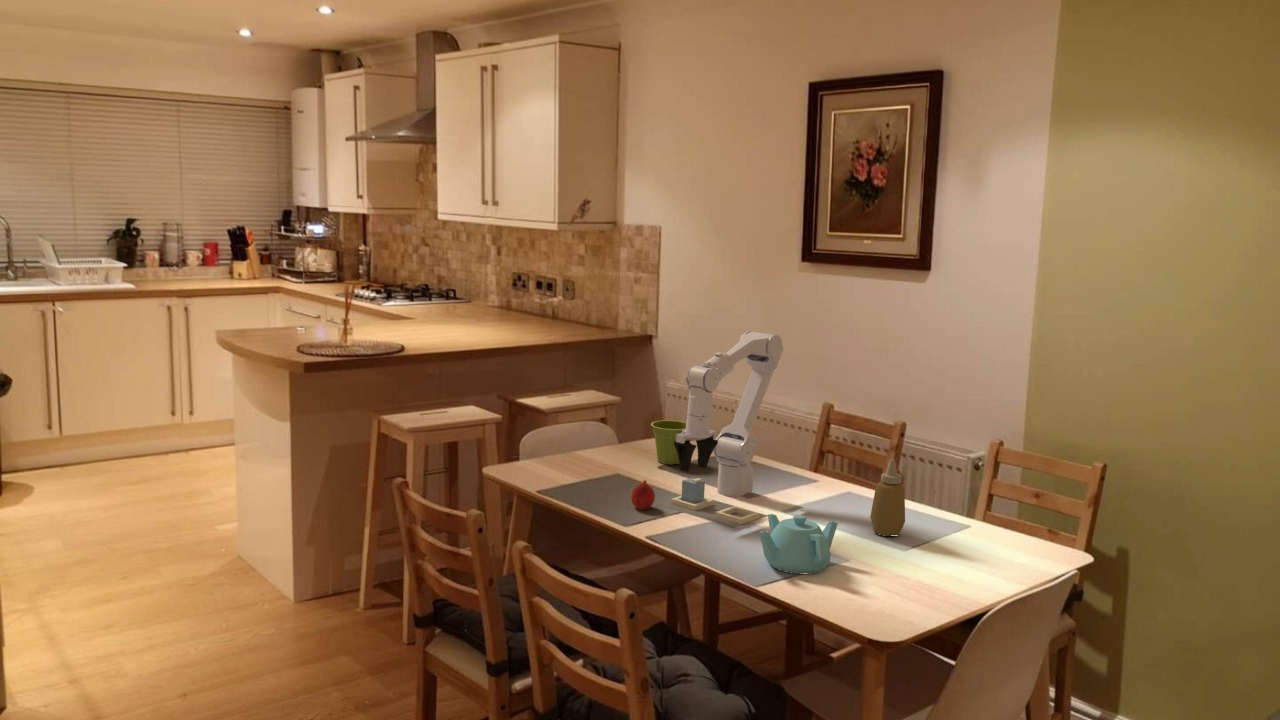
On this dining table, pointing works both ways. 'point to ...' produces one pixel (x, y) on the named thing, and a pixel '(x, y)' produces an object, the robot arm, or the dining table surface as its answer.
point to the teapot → (797, 544)
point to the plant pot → (667, 440)
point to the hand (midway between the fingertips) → (693, 469)
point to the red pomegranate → (643, 496)
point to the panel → (715, 511)
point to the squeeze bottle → (889, 503)
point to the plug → (693, 490)
